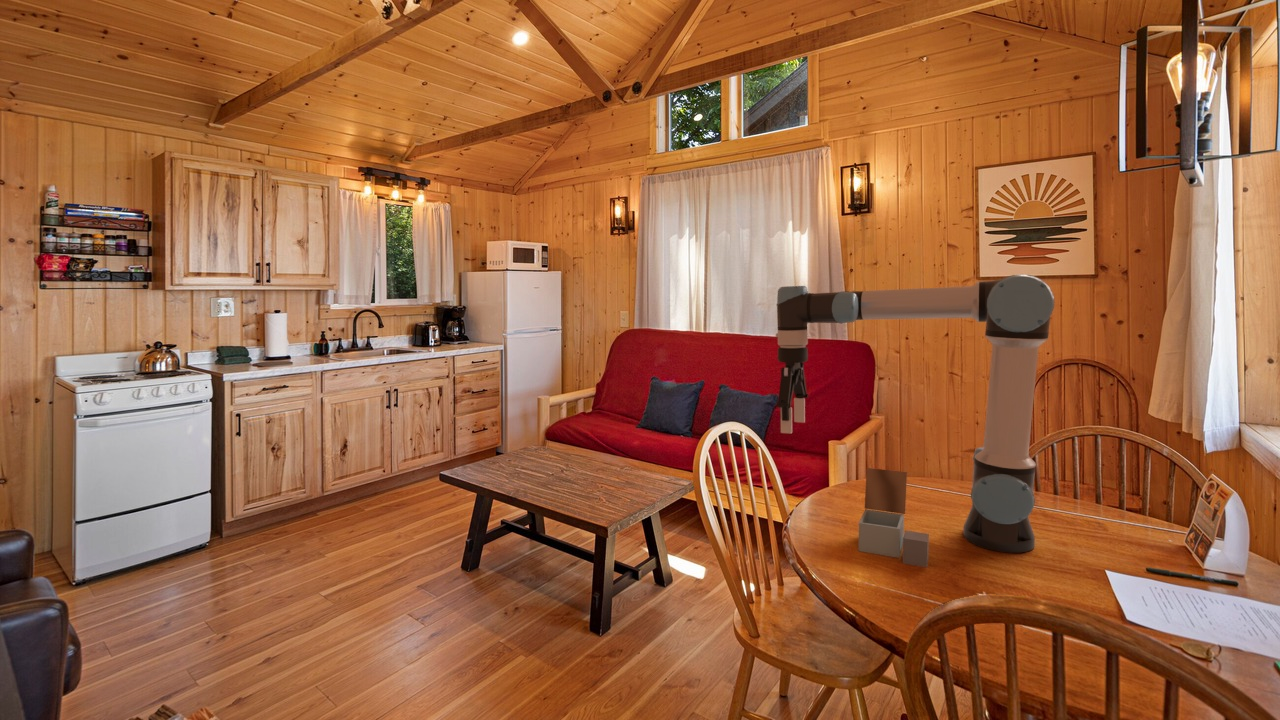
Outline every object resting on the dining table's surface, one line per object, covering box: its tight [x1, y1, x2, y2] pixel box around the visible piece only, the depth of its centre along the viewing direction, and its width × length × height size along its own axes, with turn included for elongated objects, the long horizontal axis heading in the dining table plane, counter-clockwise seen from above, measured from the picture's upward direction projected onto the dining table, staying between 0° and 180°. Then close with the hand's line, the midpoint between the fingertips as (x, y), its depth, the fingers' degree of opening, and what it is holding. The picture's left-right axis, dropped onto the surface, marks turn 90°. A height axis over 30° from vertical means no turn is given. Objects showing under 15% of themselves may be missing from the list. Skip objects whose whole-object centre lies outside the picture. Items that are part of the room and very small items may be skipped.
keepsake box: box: [857, 508, 905, 559], centre depth 147 cm, size 9×10×7 cm
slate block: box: [902, 529, 930, 568], centre depth 139 cm, size 5×5×6 cm
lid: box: [864, 467, 908, 515], centre depth 152 cm, size 9×10×1 cm
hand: (793, 427), depth 158 cm, fingers open, 13 cm apart
